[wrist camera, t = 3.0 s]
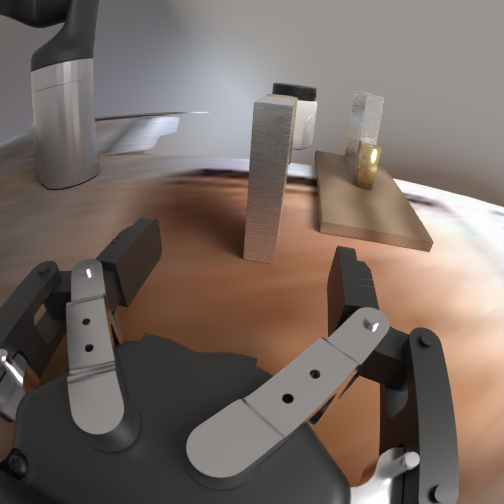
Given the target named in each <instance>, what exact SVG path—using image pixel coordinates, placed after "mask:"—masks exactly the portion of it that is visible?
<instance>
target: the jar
mask: <svg viewBox="0 0 504 504" xmlns="http://www.w3.org/2000/svg"><path fill="white" fill-rule="evenodd" d="M272 94H274V95H285V96H292V97H297V98H298V100H297V109H296V118H295V127H294V136H293V144H292V149H296V150H302V149H305V148H308V147H311V145H312V138H313V130H314V124H315V116H316V108H317V101H315V98H316V88H312V87H307V86H300V85H293V84H283V83H274V84H273V93H272Z"/></svg>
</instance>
